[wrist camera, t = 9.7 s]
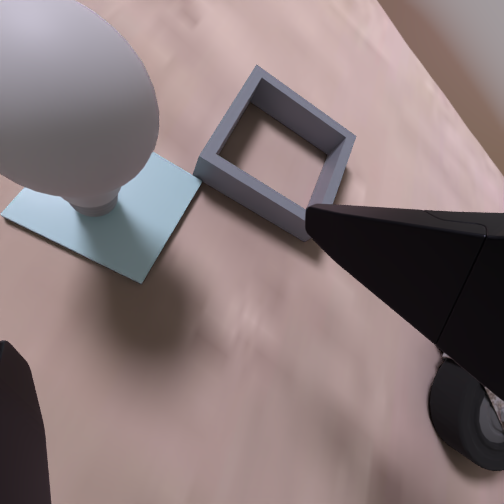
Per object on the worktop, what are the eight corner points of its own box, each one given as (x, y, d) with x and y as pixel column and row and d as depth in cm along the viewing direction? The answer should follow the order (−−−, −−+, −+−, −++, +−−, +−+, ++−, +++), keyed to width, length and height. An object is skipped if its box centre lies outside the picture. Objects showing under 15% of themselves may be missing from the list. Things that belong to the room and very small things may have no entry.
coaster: (141, 284, 17) (141, 283, 17) (3, 217, 15) (0, 214, 15) (201, 183, 20) (202, 181, 20) (91, 118, 19) (90, 114, 18)
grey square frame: (304, 241, 22) (322, 231, 20) (192, 175, 20) (199, 155, 18) (337, 153, 26) (356, 136, 23) (245, 89, 24) (256, 64, 21)
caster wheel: (431, 453, 24) (383, 354, 23) (515, 378, 27) (476, 286, 26) (522, 523, 18) (462, 391, 17) (622, 416, 21) (575, 296, 20)
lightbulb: (32, 152, 16) (-127, -120, 7) (145, 158, 19) (155, -35, 9) (33, 255, 15) (-161, 112, 5) (154, 248, 18) (178, 139, 8)
